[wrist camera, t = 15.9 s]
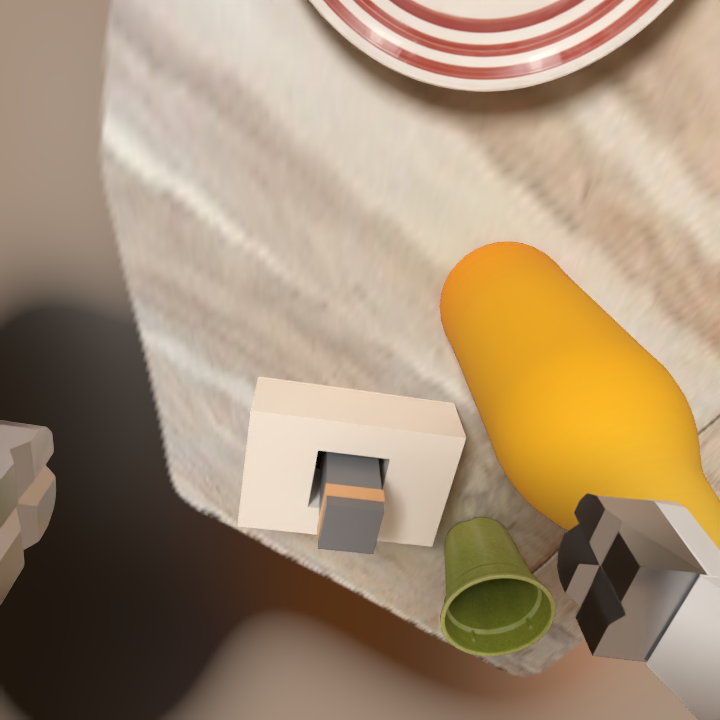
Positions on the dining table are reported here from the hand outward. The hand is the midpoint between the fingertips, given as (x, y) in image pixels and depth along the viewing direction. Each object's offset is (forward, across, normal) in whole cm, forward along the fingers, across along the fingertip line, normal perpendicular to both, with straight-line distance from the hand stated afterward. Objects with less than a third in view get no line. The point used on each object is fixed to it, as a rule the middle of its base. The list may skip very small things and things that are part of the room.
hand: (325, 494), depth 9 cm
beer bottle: (+34, -14, +8) cm, 38 cm away
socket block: (+34, -5, +23) cm, 41 cm away
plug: (+34, -5, +23) cm, 42 cm away
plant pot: (+34, -19, +32) cm, 51 cm away
